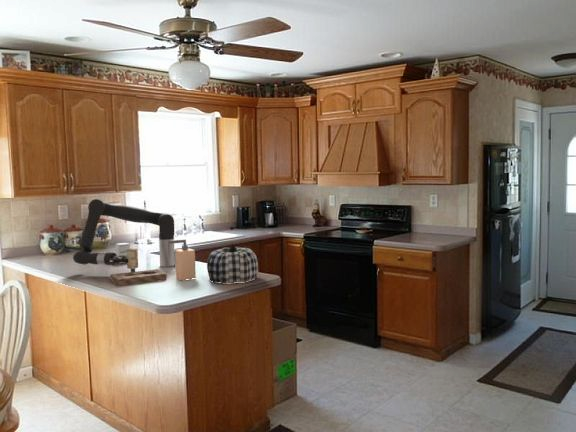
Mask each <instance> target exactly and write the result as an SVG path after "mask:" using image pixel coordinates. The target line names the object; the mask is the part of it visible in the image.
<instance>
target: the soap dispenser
mask: <svg viewBox="0 0 576 432" xmlns="http://www.w3.org/2000/svg"><path fill="white" fill-rule="evenodd" d="M169 243H170V244H172V243H174V244H181V243H183V244H182V245H181V248H179V249H174V250H175V260H176V265H175V278H176V280H178V279H179V280H178V281H180V280H185V281H187V280H186V279H192V278H197V276H196V275H197V274H196V250H195V249H192V248H188V247H189V246H188V245H187V239H174V240H172V241H169Z"/></svg>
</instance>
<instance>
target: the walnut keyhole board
mask: <svg viewBox="0 0 576 432" xmlns="http://www.w3.org/2000/svg"><path fill="white" fill-rule="evenodd" d="M110 280H111V282H112V283H114V284H115V285H117V286H118V287H121V286H122V287H123V286H128V285H130V286H131V285H136V284H137V285H138V284H146V283H153V282H152V281H154V282H159V281H158V280H162V281H167V273H166V272H164V271H162V270H160V269H157V268H156V269H147V270H138V271H135V272H131V271H130V272H122V273H121V272H120V273H112V274H110ZM145 282H146V283H145Z"/></svg>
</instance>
